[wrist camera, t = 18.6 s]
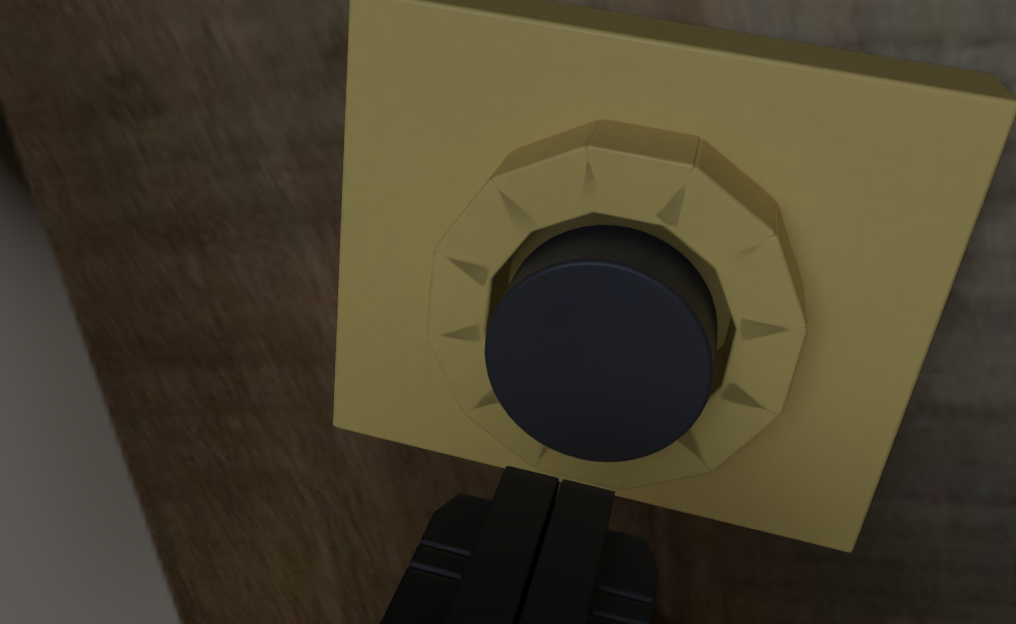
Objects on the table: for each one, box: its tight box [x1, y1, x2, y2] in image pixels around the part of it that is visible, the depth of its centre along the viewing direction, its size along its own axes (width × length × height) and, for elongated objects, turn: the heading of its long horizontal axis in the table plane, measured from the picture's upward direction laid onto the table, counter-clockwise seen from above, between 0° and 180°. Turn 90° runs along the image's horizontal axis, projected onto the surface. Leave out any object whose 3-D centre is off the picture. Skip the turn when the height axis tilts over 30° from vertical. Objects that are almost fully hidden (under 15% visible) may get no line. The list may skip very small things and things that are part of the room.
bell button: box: [485, 225, 717, 462], centre depth 17 cm, size 4×4×2 cm
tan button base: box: [333, 0, 1016, 552], centre depth 19 cm, size 12×10×4 cm
